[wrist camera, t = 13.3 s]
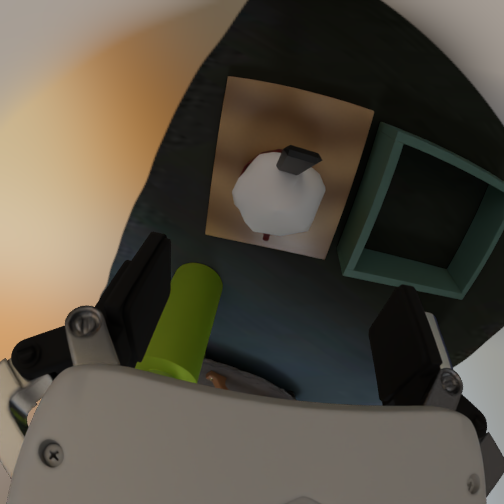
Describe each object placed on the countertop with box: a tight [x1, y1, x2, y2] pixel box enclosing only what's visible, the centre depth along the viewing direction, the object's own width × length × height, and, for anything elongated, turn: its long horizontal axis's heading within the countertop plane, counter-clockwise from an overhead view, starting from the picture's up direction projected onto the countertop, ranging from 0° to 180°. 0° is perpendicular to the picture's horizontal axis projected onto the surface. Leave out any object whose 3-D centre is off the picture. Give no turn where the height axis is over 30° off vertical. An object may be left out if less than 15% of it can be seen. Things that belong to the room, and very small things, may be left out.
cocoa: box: [232, 145, 326, 241], centre depth 19 cm, size 10×6×12 cm, turn 146°
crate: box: [336, 121, 504, 300], centre depth 24 cm, size 14×16×4 cm
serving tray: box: [197, 354, 297, 401], centre depth 49 cm, size 39×23×6 cm, turn 143°
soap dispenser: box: [135, 263, 223, 383], centre depth 25 cm, size 6×7×20 cm
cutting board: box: [205, 76, 374, 259], centre depth 25 cm, size 15×12×2 cm
